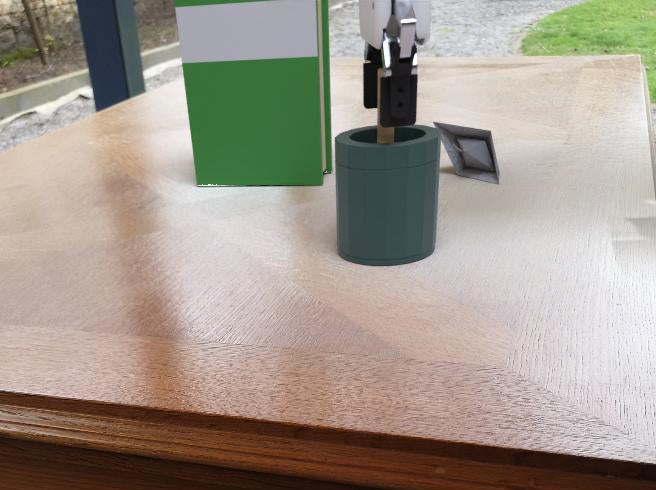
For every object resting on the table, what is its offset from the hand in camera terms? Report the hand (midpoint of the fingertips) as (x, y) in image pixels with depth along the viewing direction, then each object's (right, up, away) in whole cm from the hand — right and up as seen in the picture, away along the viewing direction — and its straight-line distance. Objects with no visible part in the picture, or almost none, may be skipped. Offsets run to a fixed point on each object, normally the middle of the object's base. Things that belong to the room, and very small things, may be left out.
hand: (388, 116), depth 74 cm
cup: (+1, -10, +7) cm, 13 cm away
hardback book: (-12, +9, +35) cm, 38 cm away
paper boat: (+14, +6, +29) cm, 33 cm away
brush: (+1, -10, +7) cm, 12 cm away
